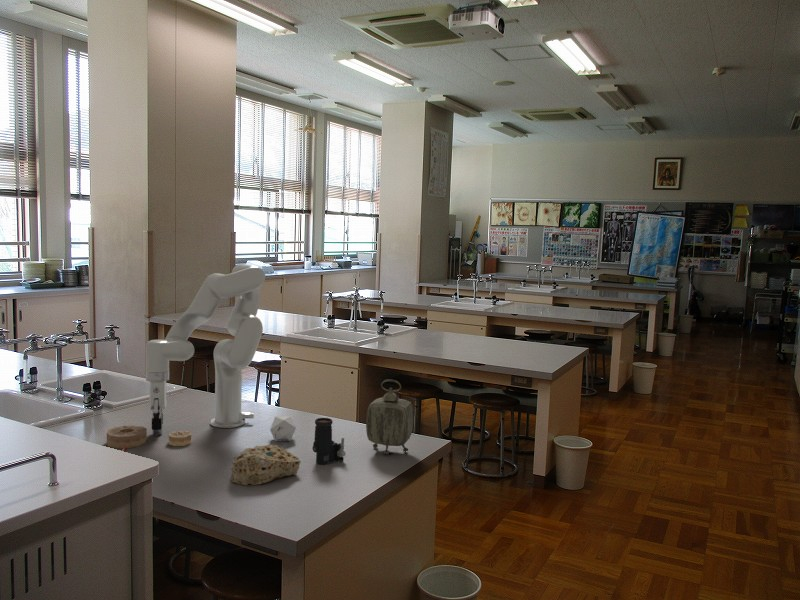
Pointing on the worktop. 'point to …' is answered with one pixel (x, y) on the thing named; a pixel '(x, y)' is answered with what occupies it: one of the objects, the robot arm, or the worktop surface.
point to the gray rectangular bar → (156, 432)
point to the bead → (126, 436)
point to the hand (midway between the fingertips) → (157, 426)
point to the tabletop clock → (389, 420)
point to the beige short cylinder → (179, 438)
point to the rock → (263, 465)
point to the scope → (326, 443)
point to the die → (282, 428)
